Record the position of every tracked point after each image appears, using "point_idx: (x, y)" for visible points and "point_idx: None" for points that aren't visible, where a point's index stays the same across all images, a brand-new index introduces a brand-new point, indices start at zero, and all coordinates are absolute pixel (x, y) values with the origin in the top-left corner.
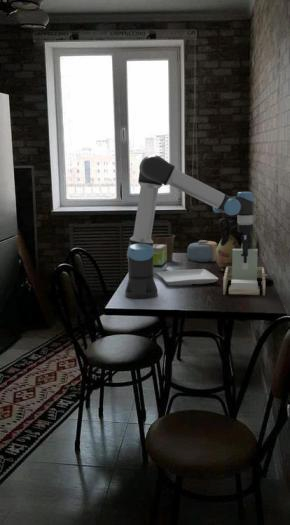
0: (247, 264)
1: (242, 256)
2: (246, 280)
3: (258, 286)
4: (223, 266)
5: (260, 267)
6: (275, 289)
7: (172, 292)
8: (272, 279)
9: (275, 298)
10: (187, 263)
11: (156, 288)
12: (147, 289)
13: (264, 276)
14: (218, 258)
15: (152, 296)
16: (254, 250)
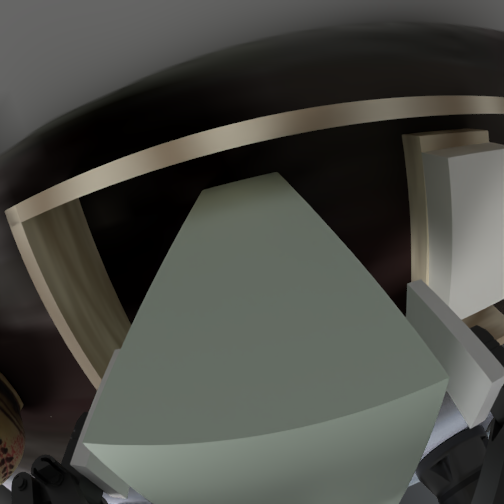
0: (448, 312)
1: (483, 415)
2: (469, 231)
3: (427, 141)
4: (20, 417)
5: (25, 233)
6: (317, 36)
7: (433, 429)
8: (19, 143)
9: (498, 54)
10: (26, 468)
11: (468, 445)
12: (484, 444)
13: (448, 99)
14: (21, 456)
15: (478, 427)
16: (423, 437)
